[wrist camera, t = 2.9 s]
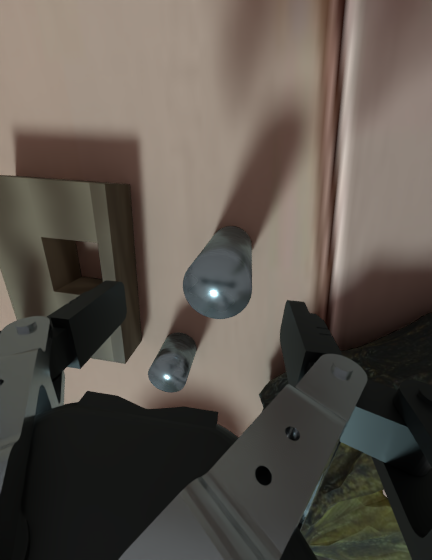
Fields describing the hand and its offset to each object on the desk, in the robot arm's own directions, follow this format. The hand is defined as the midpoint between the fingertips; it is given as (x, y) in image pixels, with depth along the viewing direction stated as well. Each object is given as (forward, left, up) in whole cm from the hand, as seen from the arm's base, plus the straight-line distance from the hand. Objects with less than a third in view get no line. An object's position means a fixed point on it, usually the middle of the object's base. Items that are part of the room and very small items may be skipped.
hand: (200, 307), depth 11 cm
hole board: (+15, +4, -12) cm, 20 cm away
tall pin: (-1, 0, -12) cm, 12 cm away
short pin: (+4, +13, -12) cm, 18 cm away
